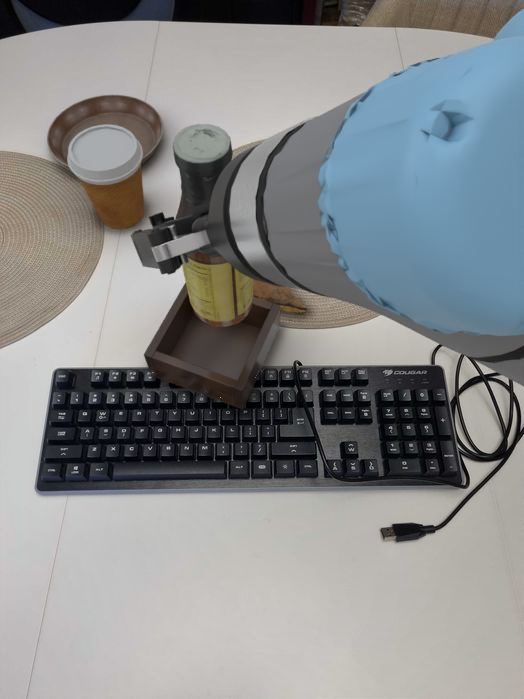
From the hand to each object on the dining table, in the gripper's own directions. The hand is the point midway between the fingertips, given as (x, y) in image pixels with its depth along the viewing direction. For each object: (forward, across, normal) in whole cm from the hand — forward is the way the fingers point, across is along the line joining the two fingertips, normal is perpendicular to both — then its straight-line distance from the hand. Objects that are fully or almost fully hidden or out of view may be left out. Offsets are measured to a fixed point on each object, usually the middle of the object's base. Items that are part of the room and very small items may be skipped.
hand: (198, 222), depth 48 cm
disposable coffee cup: (+34, -3, +3) cm, 35 cm away
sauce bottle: (+4, 0, -9) cm, 9 cm away
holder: (+15, 0, -16) cm, 22 cm away
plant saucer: (+45, 0, +13) cm, 47 cm away
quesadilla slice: (+20, +10, -12) cm, 25 cm away
